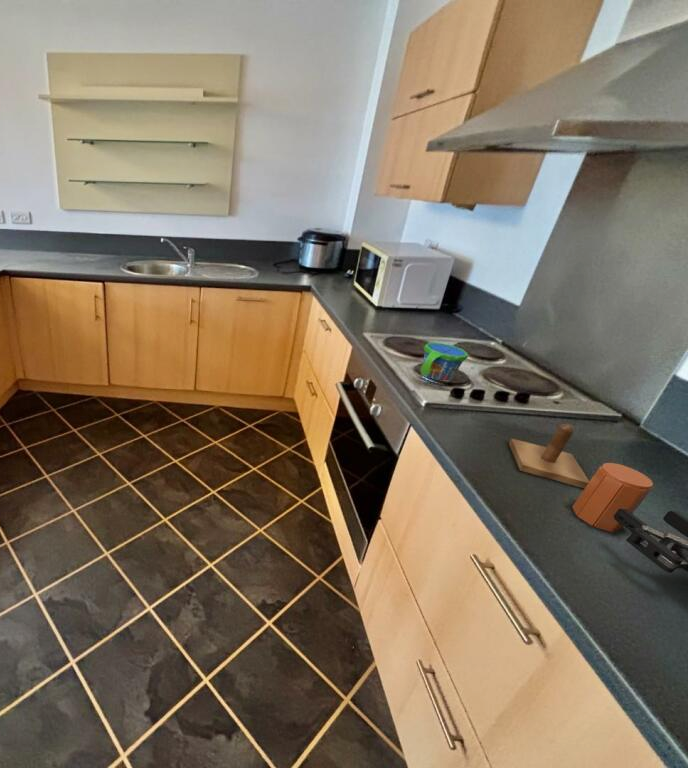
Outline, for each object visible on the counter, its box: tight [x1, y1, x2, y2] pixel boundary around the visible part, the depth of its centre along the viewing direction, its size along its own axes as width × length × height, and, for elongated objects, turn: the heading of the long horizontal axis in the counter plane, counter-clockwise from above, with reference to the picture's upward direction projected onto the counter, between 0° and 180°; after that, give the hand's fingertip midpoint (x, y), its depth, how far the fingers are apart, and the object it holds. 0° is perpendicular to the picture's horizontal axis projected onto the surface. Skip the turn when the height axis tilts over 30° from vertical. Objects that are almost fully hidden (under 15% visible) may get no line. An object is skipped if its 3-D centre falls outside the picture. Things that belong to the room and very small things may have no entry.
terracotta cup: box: [571, 462, 654, 533], centre depth 72 cm, size 6×6×10 cm
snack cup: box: [420, 342, 469, 387], centre depth 120 cm, size 16×10×10 cm
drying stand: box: [508, 423, 590, 490], centre depth 85 cm, size 11×11×10 cm
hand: (642, 513), depth 67 cm, fingers open, 8 cm apart
